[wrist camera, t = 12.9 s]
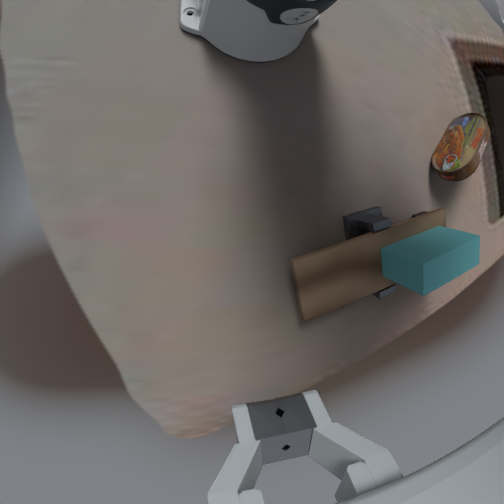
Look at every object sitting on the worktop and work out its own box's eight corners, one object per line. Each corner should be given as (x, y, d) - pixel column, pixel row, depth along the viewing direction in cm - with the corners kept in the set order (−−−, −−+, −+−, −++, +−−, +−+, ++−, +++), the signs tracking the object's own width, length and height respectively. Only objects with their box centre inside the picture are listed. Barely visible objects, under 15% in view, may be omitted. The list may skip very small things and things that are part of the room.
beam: (286, 255, 37) (292, 259, 35) (435, 206, 42) (444, 207, 41) (298, 316, 40) (304, 323, 38) (438, 256, 45) (446, 259, 43)
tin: (455, 112, 44) (490, 109, 36) (463, 126, 45) (498, 124, 37) (423, 169, 44) (462, 171, 36) (432, 182, 45) (470, 186, 37)
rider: (380, 248, 38) (423, 263, 31) (438, 225, 41) (479, 235, 33) (383, 276, 40) (423, 295, 32) (439, 250, 42) (479, 263, 34)
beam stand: (342, 216, 41) (363, 221, 37) (422, 193, 44) (443, 196, 40) (353, 295, 45) (371, 307, 40) (427, 262, 48) (446, 270, 43)
